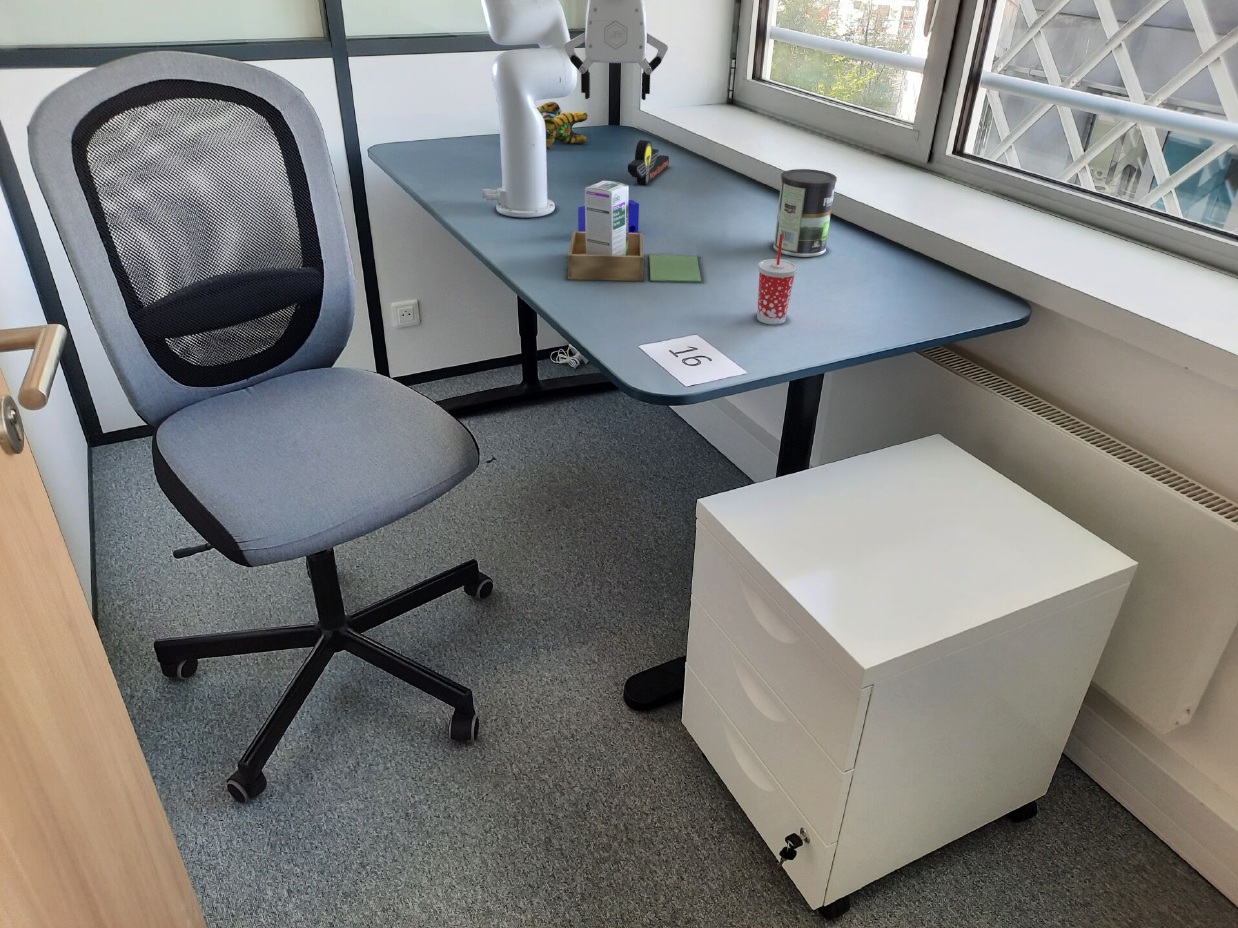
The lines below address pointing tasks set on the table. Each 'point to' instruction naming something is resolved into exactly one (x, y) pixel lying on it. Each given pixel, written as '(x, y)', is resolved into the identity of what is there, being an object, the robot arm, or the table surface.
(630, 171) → the decorative sign
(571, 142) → the dog figurine
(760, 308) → the beverage cup
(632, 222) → the cable clip
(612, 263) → the tray
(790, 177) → the coffee can
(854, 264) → the table surface
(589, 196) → the syrup box
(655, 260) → the mat
